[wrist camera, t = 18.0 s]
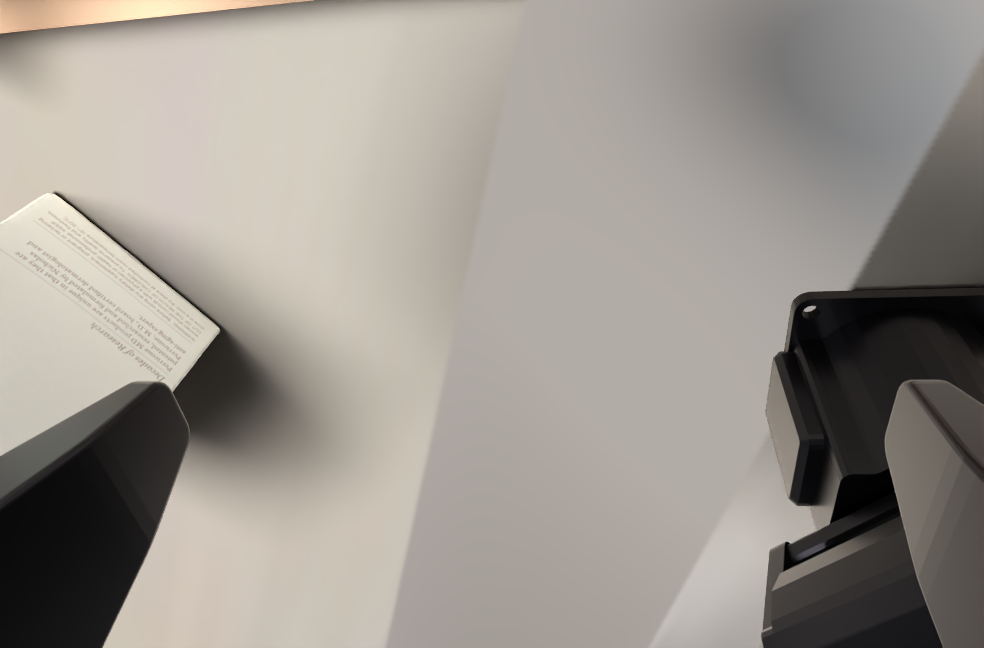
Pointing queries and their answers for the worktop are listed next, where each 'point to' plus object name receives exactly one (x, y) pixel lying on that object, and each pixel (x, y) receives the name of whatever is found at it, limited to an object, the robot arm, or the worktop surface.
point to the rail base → (105, 11)
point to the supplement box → (81, 320)
